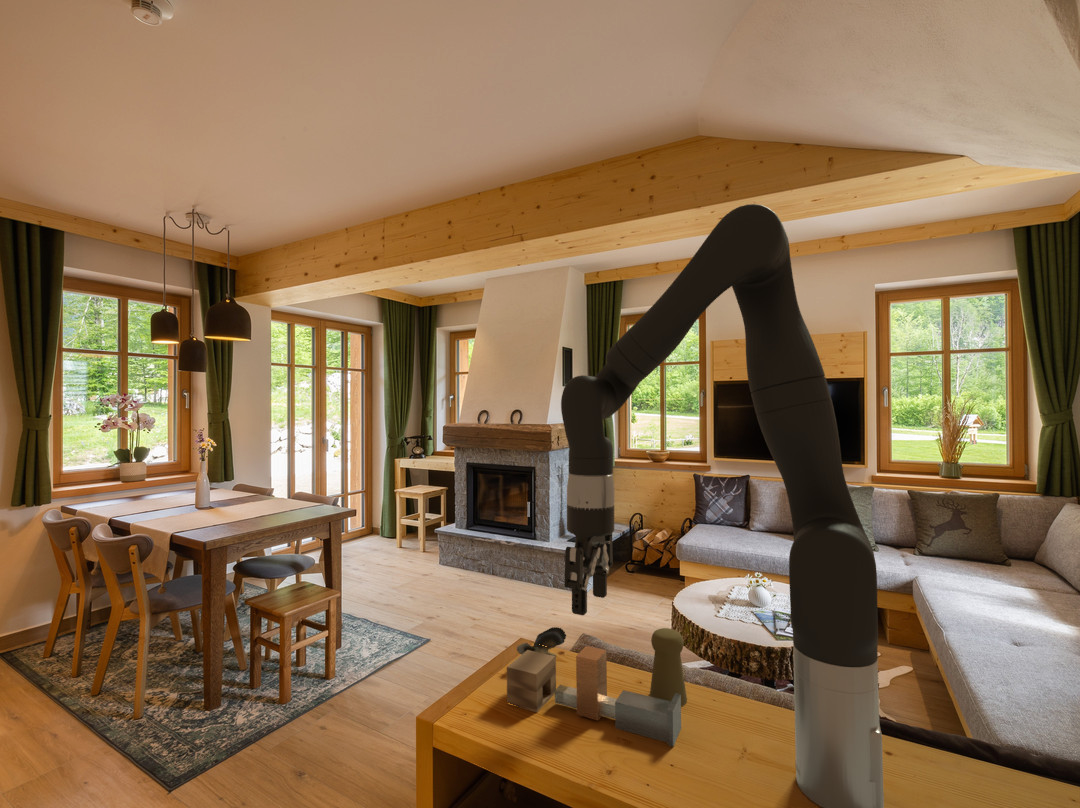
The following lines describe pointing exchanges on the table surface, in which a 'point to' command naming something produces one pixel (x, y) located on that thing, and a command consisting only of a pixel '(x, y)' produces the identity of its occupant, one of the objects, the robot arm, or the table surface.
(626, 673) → the table surface
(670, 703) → the sleeve
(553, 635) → the eagle figurine
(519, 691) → the socket block
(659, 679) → the olive green pawn
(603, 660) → the bar
